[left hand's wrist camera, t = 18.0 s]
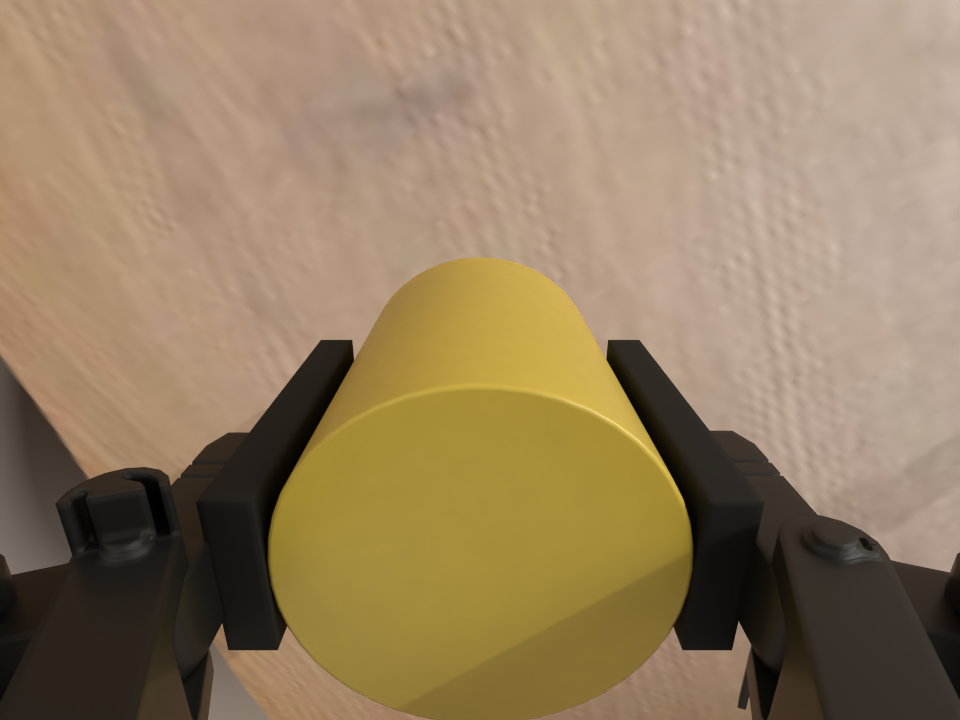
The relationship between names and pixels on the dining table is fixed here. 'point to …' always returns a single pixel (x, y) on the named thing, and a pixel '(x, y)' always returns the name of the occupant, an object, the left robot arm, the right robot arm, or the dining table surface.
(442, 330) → the can
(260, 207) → the dining table surface
